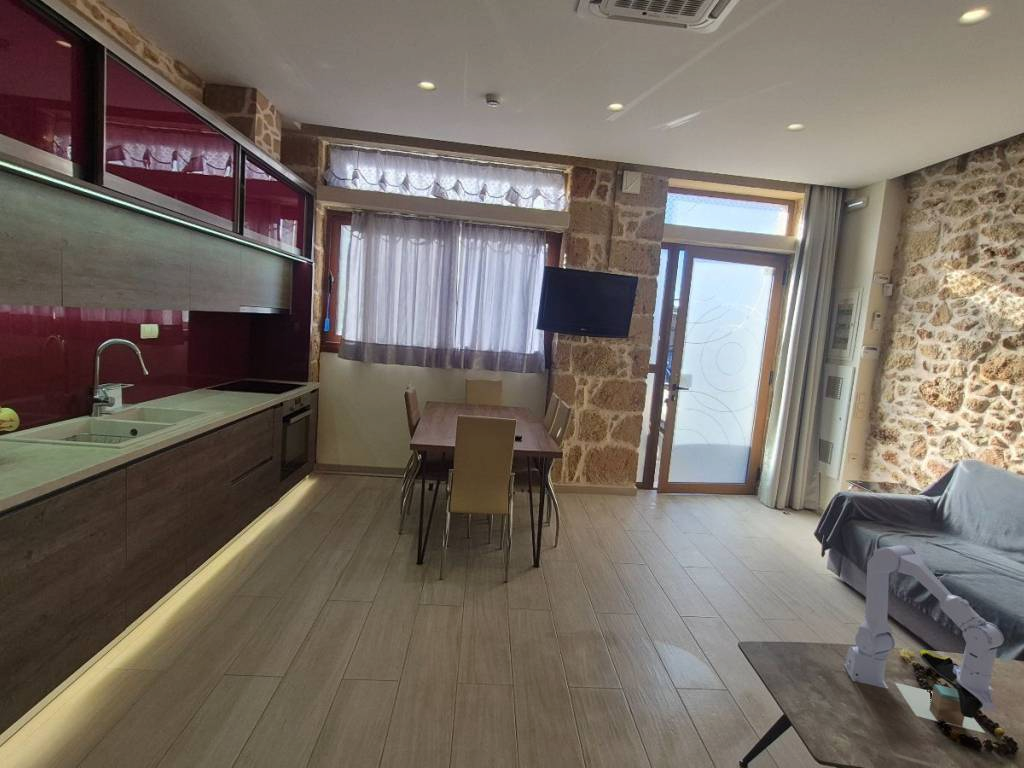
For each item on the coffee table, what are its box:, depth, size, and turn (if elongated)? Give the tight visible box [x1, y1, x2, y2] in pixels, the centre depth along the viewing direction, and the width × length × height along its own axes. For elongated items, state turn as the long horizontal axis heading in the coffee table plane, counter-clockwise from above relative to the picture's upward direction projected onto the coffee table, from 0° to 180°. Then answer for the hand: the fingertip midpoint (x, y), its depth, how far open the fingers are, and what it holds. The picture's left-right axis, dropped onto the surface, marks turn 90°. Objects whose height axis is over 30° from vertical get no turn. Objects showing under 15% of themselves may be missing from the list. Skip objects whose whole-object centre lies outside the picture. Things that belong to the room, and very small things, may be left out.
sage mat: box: [894, 682, 986, 734], centre depth 146 cm, size 16×14×1 cm
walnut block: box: [929, 683, 964, 726], centre depth 141 cm, size 6×4×8 cm, turn 73°
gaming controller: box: [919, 649, 961, 685], centre depth 159 cm, size 15×6×10 cm
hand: (966, 715), depth 133 cm, fingers closed
